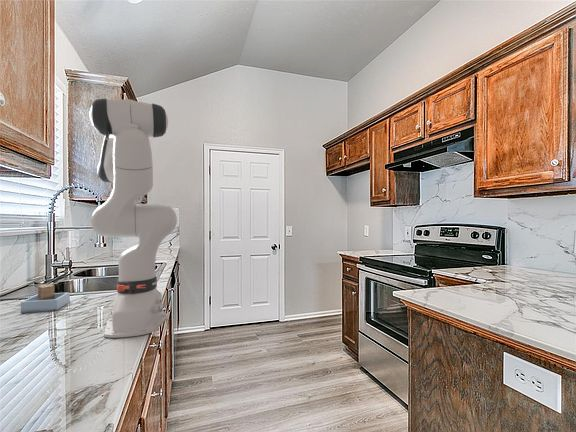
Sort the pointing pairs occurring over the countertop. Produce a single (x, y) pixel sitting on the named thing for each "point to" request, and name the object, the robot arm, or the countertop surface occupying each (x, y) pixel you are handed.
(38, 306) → the box
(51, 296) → the block
